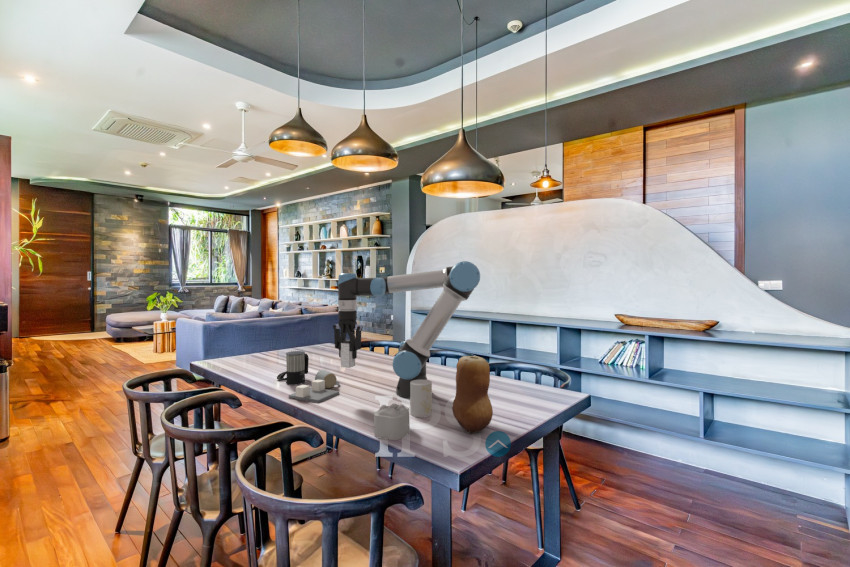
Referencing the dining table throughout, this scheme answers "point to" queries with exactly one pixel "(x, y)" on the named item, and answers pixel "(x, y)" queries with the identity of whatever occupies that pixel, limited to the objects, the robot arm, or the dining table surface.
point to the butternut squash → (472, 394)
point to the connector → (345, 353)
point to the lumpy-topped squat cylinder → (392, 422)
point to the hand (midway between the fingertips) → (347, 365)
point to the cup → (421, 398)
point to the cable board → (313, 392)
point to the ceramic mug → (327, 378)
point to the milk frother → (295, 367)
